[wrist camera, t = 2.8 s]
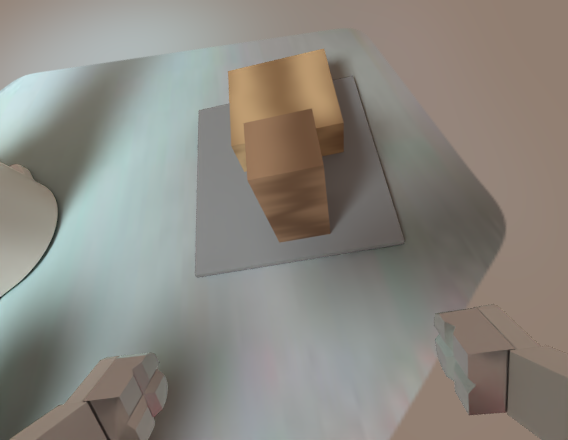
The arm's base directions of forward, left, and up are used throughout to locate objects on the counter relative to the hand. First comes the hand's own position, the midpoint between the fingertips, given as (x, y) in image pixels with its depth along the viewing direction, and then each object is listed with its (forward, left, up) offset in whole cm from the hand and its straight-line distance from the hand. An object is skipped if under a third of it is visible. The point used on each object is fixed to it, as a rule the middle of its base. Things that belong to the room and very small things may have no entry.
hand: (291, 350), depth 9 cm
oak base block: (0, +23, -15) cm, 27 cm away
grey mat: (-1, +18, -16) cm, 24 cm away
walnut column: (0, +12, -15) cm, 19 cm away
